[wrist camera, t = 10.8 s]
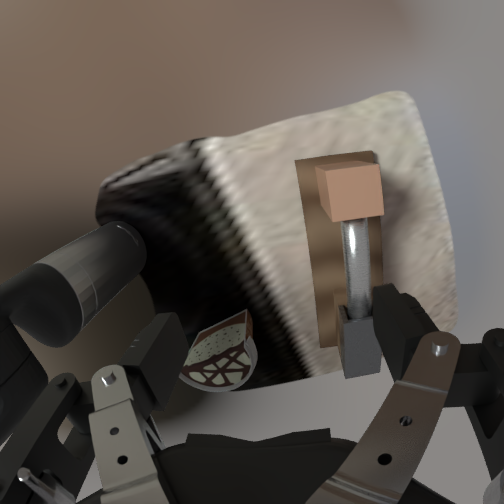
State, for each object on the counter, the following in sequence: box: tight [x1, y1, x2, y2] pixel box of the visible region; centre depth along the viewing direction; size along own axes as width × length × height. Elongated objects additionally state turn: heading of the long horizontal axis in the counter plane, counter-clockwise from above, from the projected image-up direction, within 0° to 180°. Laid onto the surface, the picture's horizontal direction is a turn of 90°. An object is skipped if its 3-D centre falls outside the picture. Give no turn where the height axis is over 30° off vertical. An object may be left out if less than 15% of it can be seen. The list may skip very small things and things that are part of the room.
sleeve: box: [338, 300, 382, 379], centre depth 35 cm, size 9×5×4 cm, turn 11°
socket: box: [315, 161, 384, 222], centre depth 31 cm, size 5×5×9 cm
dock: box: [295, 151, 383, 357], centre depth 37 cm, size 28×10×6 cm, turn 11°
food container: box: [179, 309, 257, 392], centre depth 41 cm, size 12×6×10 cm, turn 123°
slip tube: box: [340, 217, 371, 320], centre depth 32 cm, size 17×3×3 cm, turn 11°
